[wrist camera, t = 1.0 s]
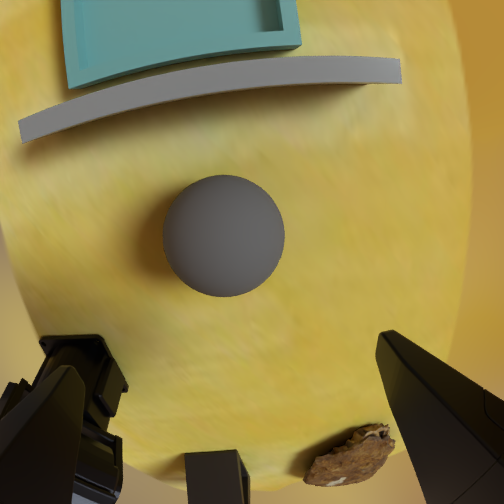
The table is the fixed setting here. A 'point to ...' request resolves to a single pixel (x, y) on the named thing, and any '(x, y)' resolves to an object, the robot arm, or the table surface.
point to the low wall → (210, 87)
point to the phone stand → (217, 478)
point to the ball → (223, 236)
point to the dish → (168, 33)
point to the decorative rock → (353, 458)
